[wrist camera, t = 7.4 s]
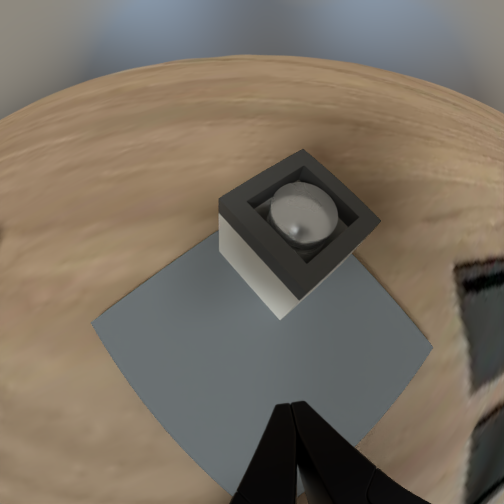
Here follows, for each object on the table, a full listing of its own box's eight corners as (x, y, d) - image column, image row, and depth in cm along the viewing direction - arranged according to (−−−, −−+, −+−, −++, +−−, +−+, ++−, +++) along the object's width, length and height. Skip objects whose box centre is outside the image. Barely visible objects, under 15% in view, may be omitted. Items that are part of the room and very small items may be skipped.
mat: (426, 348, 21) (433, 347, 20) (261, 515, 14) (263, 520, 13) (282, 192, 26) (284, 186, 25) (95, 325, 19) (90, 322, 18)
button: (320, 256, 22) (350, 216, 16) (283, 288, 20) (306, 254, 15) (285, 220, 23) (304, 172, 17) (247, 248, 21) (256, 203, 16)
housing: (341, 264, 23) (381, 220, 16) (279, 320, 20) (306, 292, 14) (283, 205, 24) (303, 148, 18) (219, 251, 22) (218, 198, 16)
